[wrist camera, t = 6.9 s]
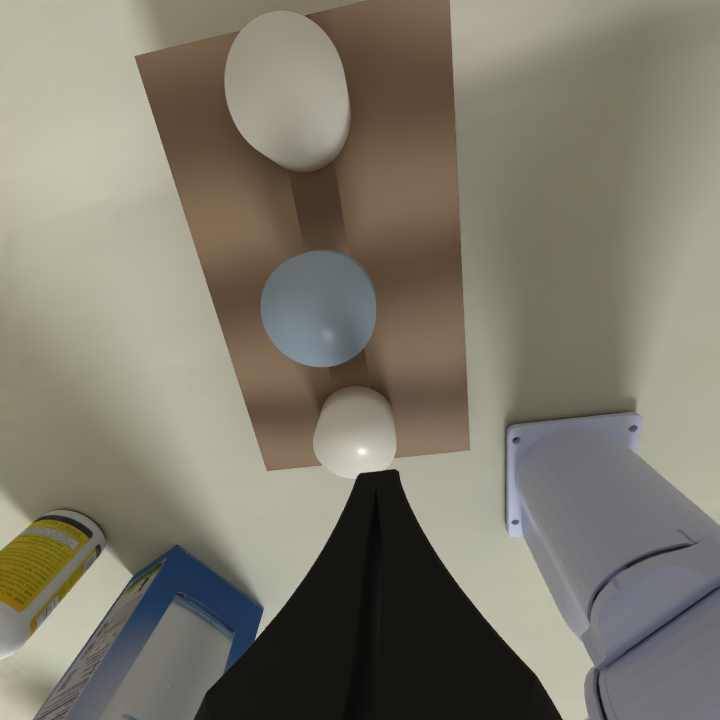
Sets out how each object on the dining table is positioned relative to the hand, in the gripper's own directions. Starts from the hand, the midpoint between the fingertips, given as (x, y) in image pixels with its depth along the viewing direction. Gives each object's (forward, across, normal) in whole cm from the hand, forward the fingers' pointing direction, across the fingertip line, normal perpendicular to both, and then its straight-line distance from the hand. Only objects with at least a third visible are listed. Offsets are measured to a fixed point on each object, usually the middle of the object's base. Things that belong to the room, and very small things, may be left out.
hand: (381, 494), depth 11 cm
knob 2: (+9, +1, +1) cm, 9 cm away
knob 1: (+9, +1, -13) cm, 16 cm away
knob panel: (+10, +1, -6) cm, 12 cm away
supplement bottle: (+10, +26, +10) cm, 30 cm away
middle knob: (+7, +1, -6) cm, 9 cm away
